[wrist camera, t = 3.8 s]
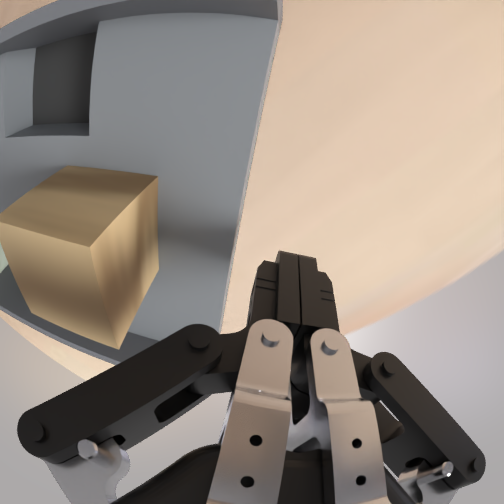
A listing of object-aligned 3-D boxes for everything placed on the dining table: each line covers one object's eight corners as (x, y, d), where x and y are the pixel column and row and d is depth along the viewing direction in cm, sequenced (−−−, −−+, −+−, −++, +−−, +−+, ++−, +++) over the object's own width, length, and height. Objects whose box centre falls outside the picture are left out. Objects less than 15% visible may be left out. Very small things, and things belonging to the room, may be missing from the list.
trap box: (-46, 81, 8) (-87, 99, 3) (282, 19, 8) (282, -22, 4) (-19, 248, 19) (-45, 277, 15) (221, 327, 20) (207, 391, 16)
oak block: (67, 165, 10) (-7, 219, 6) (158, 176, 10) (89, 247, 6) (80, 249, 13) (31, 312, 9) (158, 269, 13) (118, 349, 9)
